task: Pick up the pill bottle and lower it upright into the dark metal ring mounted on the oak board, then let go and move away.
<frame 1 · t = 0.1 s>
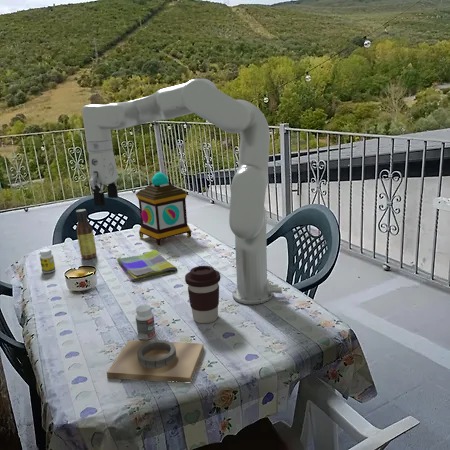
hand: (106, 201, 141), 31 cm above the table, tool pointing down, fingers open, 9 cm apart
sauce bottle: (88, 257, 184), on the table
dish towel: (146, 268, 170), on the table
coffee cup: (205, 318, 130), on the table
pill bottle: (146, 336, 122), on the table
ring jig: (157, 362, 109), on the table
decorative lantern: (165, 238, 203), on the table
supplement bottle: (49, 271, 171), on the table
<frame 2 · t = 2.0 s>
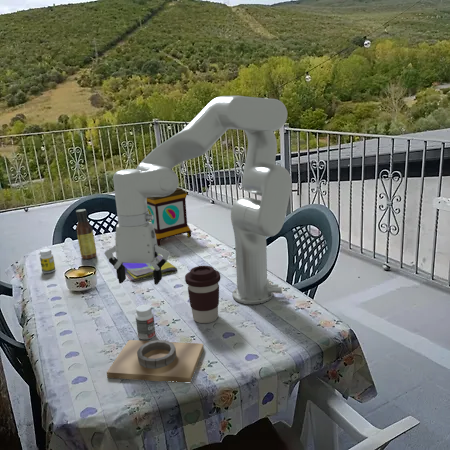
hand: (140, 281, 117), 16 cm above the table, tool pointing down, fingers open, 9 cm apart
nothing on the table moved.
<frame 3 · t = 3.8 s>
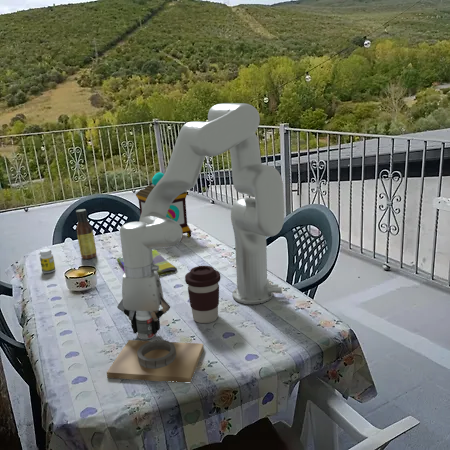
hand: (146, 330, 121), 1 cm above the table, tool pointing down, fingers closed on pill bottle, 4 cm apart
pill bottle: (146, 336, 122), on the table, touching gripper
everything else where it was.
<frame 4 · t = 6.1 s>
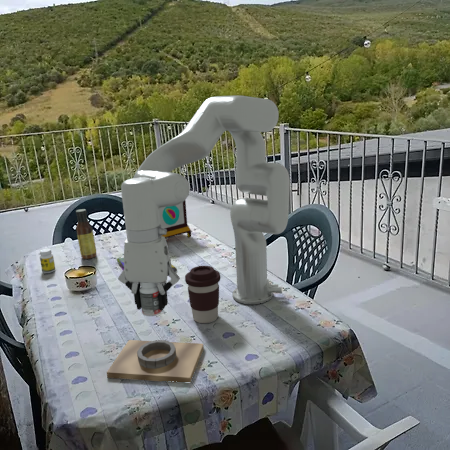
hand: (151, 306, 105), 15 cm above the table, tool pointing down, fingers closed on pill bottle, 4 cm apart
pill bottle: (152, 312, 106), point 14 cm above the table, touching gripper
everything else where it was.
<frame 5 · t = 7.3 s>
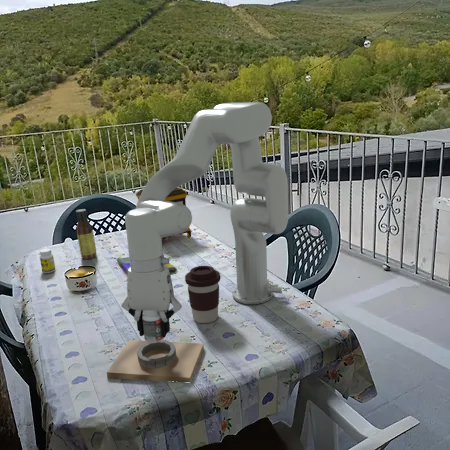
hand: (154, 333, 107), 8 cm above the table, tool pointing down, fingers closed on pill bottle, 4 cm apart
pill bottle: (154, 339, 107), point 7 cm above the table, touching gripper
everything else where it was.
when the fingers open (4 cm above the table, at t = 8.4 s): pill bottle drops 1 cm, resting on ring jig.
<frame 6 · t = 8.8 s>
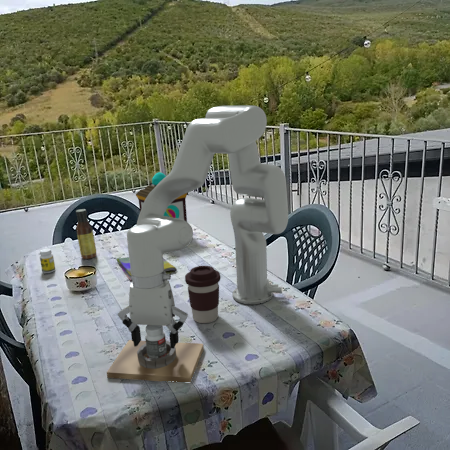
hand: (155, 344, 108), 5 cm above the table, tool pointing down, fingers open, 8 cm apart
pill bottle: (157, 357, 109), point 1 cm above the table, touching ring jig
everything else where it was.
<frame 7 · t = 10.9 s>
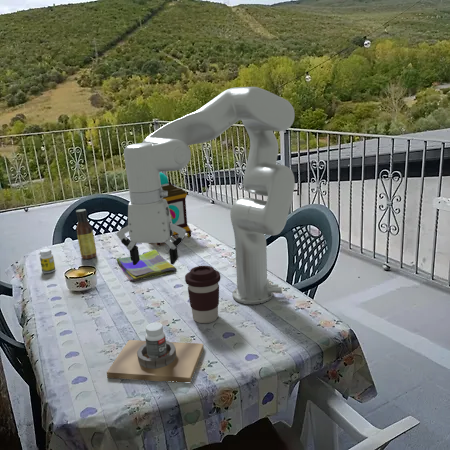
hand: (155, 262, 112), 23 cm above the table, tool pointing down, fingers open, 9 cm apart
nothing on the table moved.
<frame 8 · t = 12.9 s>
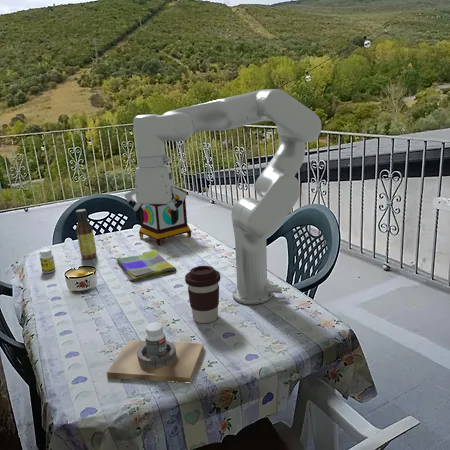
hand: (157, 223, 125), 28 cm above the table, tool pointing down, fingers open, 9 cm apart
nothing on the table moved.
at the end: pill bottle 0.1 cm off-centre on the ring jig, point 1.3 cm above the ring jig's base; pill bottle tilted 0°; the gripper is holding nothing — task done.
